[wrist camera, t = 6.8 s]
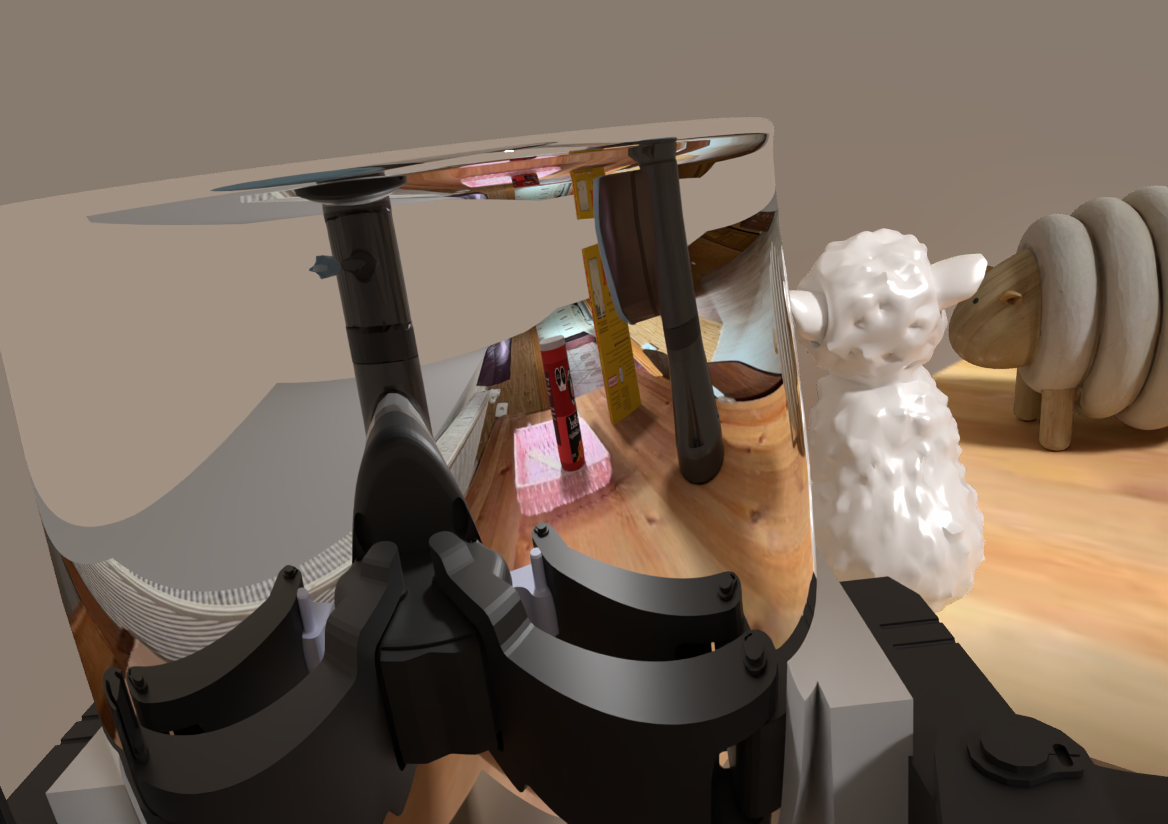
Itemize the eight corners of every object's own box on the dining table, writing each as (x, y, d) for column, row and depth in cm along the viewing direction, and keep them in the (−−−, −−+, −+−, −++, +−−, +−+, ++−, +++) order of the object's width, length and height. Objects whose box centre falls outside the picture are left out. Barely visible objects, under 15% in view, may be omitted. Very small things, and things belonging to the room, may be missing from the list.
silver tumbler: (637, 1952, 7) (142, 153, 2) (259, 1280, 11) (-154, 235, 7) (922, 1174, 12) (935, 98, 7) (575, 921, 16) (453, 168, 12)
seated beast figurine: (954, 505, 32) (961, 201, 28) (1091, 622, 24) (1126, 215, 20) (722, 533, 32) (699, 235, 28) (778, 660, 24) (757, 262, 20)
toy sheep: (925, 406, 43) (927, 199, 40) (1286, 388, 39) (1321, 157, 36) (977, 484, 33) (986, 217, 30) (1464, 469, 30) (1535, 162, 26)
